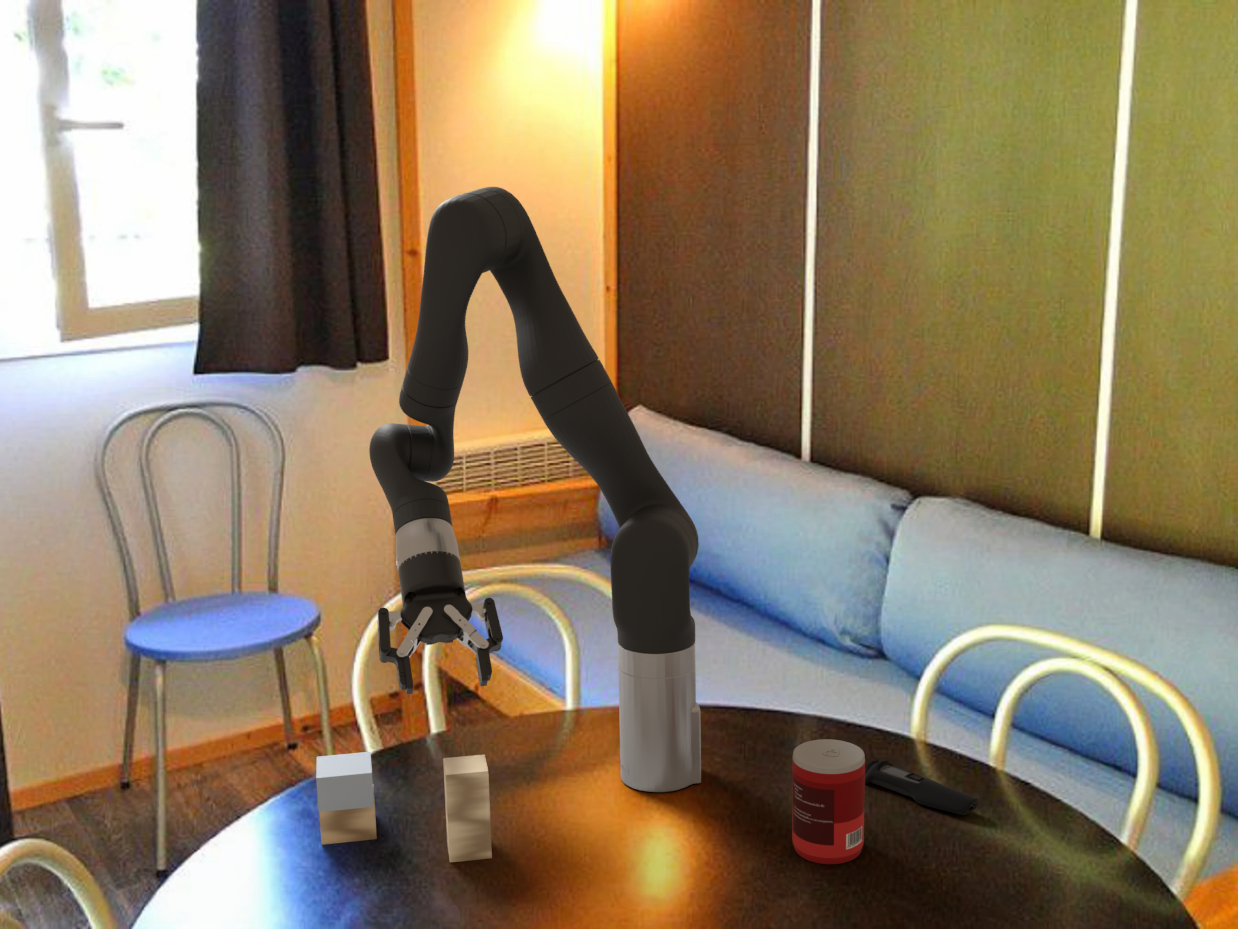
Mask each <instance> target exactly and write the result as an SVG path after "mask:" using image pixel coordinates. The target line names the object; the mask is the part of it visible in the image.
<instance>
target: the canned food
mask: <svg viewBox="0 0 1238 929" xmlns="http://www.w3.org/2000/svg"><path fill="white" fill-rule="evenodd" d="M865 767H866V759H865V752H864V750H863V749H862V748H861V747H860V746H858V745H856V744H855V743H854V744H853V743H852V742H848V741H844V740H839V739H834V738H833V739H829V738H828V739H827V738H825V739H824V738H823V739H814V740H809V741H805V742H803V743H801V744H799V745H797V746H796V747H795V748H794V749H793V752H792V768H791V770H792V774H791V777H792V779H791V780H792V783H791V784H792V785H791V788H792V790H791V793H792V794H791V795H792V796H791V797H792V798H791V800H792V803H791V804H792V807H791V809H792V812H791V813H792V814H791V815H792V820H791V822H792V823H791V824H792V826H791V827H792V829H791V830H792V831H791V832H792V834H791V835H792V838H791V839H792V845H793V848H794V850H795V852H796V854H798V856H800V857H801V858H802V859H804V860H807V861H809V862H811V863H815V864H821V865H840V864H845V863H848V862H851V861H853V860H855V859H856V858H858V857H859V856H860V854H862V850H863V846H864V844H865V843H864V842H865V798H866V797H865V796H866V794H865V793H866V791H865V789H866V788H865V787H866V784H865Z"/></svg>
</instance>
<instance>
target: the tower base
mask: <svg viewBox="0 0 1238 929" xmlns="http://www.w3.org/2000/svg"><path fill="white" fill-rule="evenodd" d="M373 799H374V807H366V808H356V809H346V810H336V811H326V812H318V813H319V825H320V826H319V829H320V839H321V840H320V842H321V845H322V846H323V845H331V844H333V845H334V844H341V843H349V842H352V843H353V842H359V841H361V842H362V841H370V840H377V839H378V838H377V820H376V817H377V816H376V802H375V784H374V783H373Z"/></svg>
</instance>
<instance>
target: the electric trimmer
mask: <svg viewBox="0 0 1238 929" xmlns="http://www.w3.org/2000/svg"><path fill="white" fill-rule="evenodd" d="M868 784H874V785H877V786H880V787H882V788H885V789H888V790H891V791H894V792H896V793H899V794H901V795H903V796H907V797H908V798H909V797H910V798H912V799H913V800H914V801H915V803H916V804H918V805H922V806H925V807H930V808H933V809H937V810H941V811H944V812H949V813H953V814H956V815H960V816H966V815H967V814H969V813H971V812H974V811H975V810H976V809H977V807H978V802H979V800H978V798H977V797H975V796H972V795H970V794H967V793H965V792H962V791H960V790H957V789H954V788H952V787H950V786H947V785H944V784H942V783H940V782H937V781H934V780H933V779H930V778H927V777H924V776H922V775H919V774H918V773H917V774H916V773H915V772H911V771H908V770H907V769H905V768H901V767H898V766H896V765H895V764H892V763H890V761H888V760H886V759H881V760H879V759H878V758H877V759H874V760H872V761H870V762H869V763H868V764H867V765H865V785H868Z"/></svg>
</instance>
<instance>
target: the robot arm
mask: <svg viewBox="0 0 1238 929" xmlns="http://www.w3.org/2000/svg"><path fill="white" fill-rule="evenodd" d="M426 237H427V238H426V246H425V254H424V255H425V256H424V265H423V266H424V267H423V274H422V275H423V276H422V285H421V294H420V302H419V303H420V304H419V313H418V320H417V326H416V333H415V337H414V342H413V345H412V348H411V349H412V350H411V353H410V357H409V361H408V364H407V367H406V370H405V375H404V378H403V382H402V385H401V387H400V388H401V389H400V392H399V398H398V404H399V407H400V410H401V411H402V412H403V413H404V414H405V415H406V416H407V417H409V418H411V419H413V421H416V422H419V423H422V424H424V425H418V424H406V423H405V424H404V423H393V422H392V423H386V424H383V425H380V427H378V428H377V429H376V430H375V431H374V433H373V434H372V437H371V439H370V443H369V448H368V449H369V451H368V452H369V460H370V461H369V462H370V463H371V467H372V471H373V473H374V475H375V477H376V479H377V482H378V483H379V485H380V487H381V489H382V492H383V493H384V495H385V498H386V500H387V503H388V504H389V507H390V510H391V513H392V519H393V520H392V522H393V528H394V534H395V559H396V564H395V565H396V570H397V573H398V580H399V587H400V588H399V589H400V594H401V602H402V608H401V609H400V610H398V611H397V610H393V611H389V609H388V608H386V607H380V608H379V609H378V610H377V611H378V612H377V620H376V621H377V636H378V639H377V640H378V654H379V655H378V656H379V661H380V662H381V663H382V664H386V663H392V664H394V665H395V666H396V672H397V673H396V674H397V680H398V686H399V689H400V690H401V691H405V694H406V695H413V693H414V692H413V691H414V680H413V676H412V675H413V674H412V665H411V659H410V658H411V656H413V654H414V653H415V652H416V650H417V649H418V647H419V645H420V644H421V643H424V644H425V645H426V646H431V645H432V646H433V645H435V644H437V643H443V644H450V643H454V641H455V640H457V641H458V642H459V643H460V644H461V645H462V646H464V647H465V648H468V649H469V650H470V651H471V652H473V653H474V654H475V655H476V656H475V664H476V670H477V676H478V682H479V687H485V686H487V685H488V682H489V681H491V679H492V673H493V667H492V662H491V656H490V654H492V652H499V651H500V650H502V643H503V641H504V636H503V631H502V627H501V624H500V619H499V615H498V612H497V607H496V602H495V600H494V598H492V597H486V598H485V599H484V601H482V602H478V603H477V602H475V603H471V602H470V601H469V599H468V597H467V595H466V594H467V593H466V589H465V583H464V576H463V571H462V570H463V569H462V564H461V562H462V561H461V557H460V551H459V550H460V549H459V546H458V545H459V544H458V541H457V538H456V535H455V533H454V528H453V521H452V515H451V507H450V502H449V499H448V495H447V493H446V492H445V491H444V489H443V488H442V487H441V486H439V485H437V484H435V483H431V482H439V481H441V480H442V479H444V478H446V476H448V474H449V473H450V472H451V470H452V468H453V465H454V462H455V440H454V429H455V428H454V426H455V417H456V416H455V415H456V408H457V403H458V401H459V397H460V394H461V391H462V387H463V384H464V380H465V376H466V373H467V370H468V369H467V368H468V365H469V364H468V363H469V346H468V345H469V344H468V337H467V331H466V328H467V327H466V317H467V310H468V306H469V302H470V300H471V297H472V296H473V292H474V290H475V289H476V288H475V287H476V286H477V284H478V281H479V280H480V278H481V277H482V275H483V274H485V273H487V272H490V273H491V274H492V276H493V277H494V280H495V281H496V282H497V284H498V286H499V287H500V289H501V292H502V293H503V295H504V297H505V299H506V301H507V304H508V306H509V308H510V310H511V314H512V317H513V322H514V326H515V327H514V328H515V334H516V347H517V356H518V358H517V359H518V365H519V369H520V371H519V372H520V376H521V378H522V382H523V384H524V385H523V386H524V388H525V389H526V392H527V393H528V395H529V397H530V399H531V401H532V403H533V404H534V407H535V408H536V410H537V412H538V413H539V415H540V417H541V419H542V420H543V422H544V424H545V426H546V428H548V430H549V431H550V433H551V435H552V436H553V438H555V440H556V441H557V443H558V444H559V445H560V446H561V447H562V448H563V449H564V450H565V451H566V452H567V453H568V454H569V455H570V456H571V458H572V459H574V460H575V462H577V463H578V464H579V466H581V468H583V469H584V470H585V471H586V473H588V475H589V476H590V477H591V478H592V480H593V481H594V482H595V483H596V486H598V488H599V489H600V490H601V493H602V494H603V496H604V497H605V501H606V502H607V503H608V506H609V508H610V510H611V512H612V515H613V517H614V519H615V521H616V522H617V525H618V528H619V529H618V531H617V532H616V534H615V535H614V537H613V541H612V544H611V550H610V584H611V585H610V588H611V604H612V617H613V622H614V625H615V626H616V631H617V657H618V658H617V659H618V660H617V664H618V666H617V667H618V669H617V671H618V710H619V711H618V714H619V715H618V716H619V717H618V718H619V756H620V757H619V766H620V779H621V782H623V784H625V785H626V786H627V787H630V788H632V789H635V790H638V791H644V792H648V793H649V792H652V793H667V792H674V791H678V790H681V789H684V788H686V787H688V786H690V785H693V784H701V783H702V756H701V755H702V754H701V753H702V750H701V748H702V746H701V745H702V742H701V738H702V735H701V734H702V733H701V723H702V722H701V706H699V704H698V703H697V694H696V693H697V689H696V686H697V685H696V681H697V680H696V677H697V676H696V674H697V673H696V672H697V671H696V623H695V622H696V621H695V619H694V618H693V616H692V614H691V613H692V612H691V600H690V599H691V598H690V596H691V595H690V594H691V593H690V568H691V566H692V565H693V564H694V562H695V560H696V558H697V555H698V552H699V547H700V546H699V545H700V544H699V534H698V530H697V528H696V525H695V523H694V521H693V519H692V518H691V516H690V514H689V513H688V512H687V510H686V509H685V507H684V506H683V505H682V503H681V501H680V500H679V498H678V497H677V496H676V494H675V493H674V491H673V490H672V489H671V487H670V486H669V484H668V483H667V481H666V480H665V479H664V477H663V476H662V474H661V473H660V471H659V470H658V468H657V467H656V465H655V463H654V462H653V460H652V458H651V456H650V455H649V453H648V451H647V449H646V447H645V446H644V443H643V441H642V438H641V437H640V434H639V433H638V431H637V428H636V427H635V424H634V422H633V420H632V418H631V417H630V415H629V413H628V411H627V409H626V408H625V405H624V403H623V402H622V400H621V398H620V396H619V394H618V391H617V390H616V388H615V385H614V384H613V382H612V380H611V378H610V376H609V374H608V372H607V371H606V368H605V366H604V365H603V364H602V362H601V360H600V359H599V356H598V355H597V353H596V351H595V349H594V348H593V346H592V344H591V343H590V341H589V339H588V337H587V336H586V334H585V332H584V330H583V329H582V327H581V325H580V323H579V320H578V319H577V317H576V315H575V312H574V311H573V309H572V307H571V306H570V304H569V302H568V300H567V297H566V296H565V295H564V293H563V290H562V288H561V287H560V285H559V283H558V280H557V278H556V277H555V274H554V272H553V269H552V267H551V265H550V262H549V260H548V257H547V255H546V253H545V251H544V247H543V246H542V244H541V241H540V239H539V236H538V234H537V232H536V230H535V226H534V225H533V223H532V221H531V218H530V216H529V214H528V213H527V211H526V209H525V207H524V206H523V205H522V203H521V202H520V200H519V199H518V198H517V197H516V196H515V195H514V194H513V193H511V192H510V191H508V190H506V189H504V188H503V187H498V186H486V187H481V188H477V189H474V190H471V191H468V192H464V193H462V194H458V195H454V196H452V197H450V198H448V199H446V200H445V201H443V202H442V203H440V204H439V205H438V206H437V207H436V208H435V210H434V212H433V213H432V216H431V219H430V222H429V226H428V231H427V236H426ZM473 615H475V616H476V617H477V618H478V620H479V621H480V622H484V626H485V630H486V633H487V636H488V638H485V637H484V636H482V634H480V632H478V631H477V629H476V627H475V625H473V624H472V623H471V622H470V619H471V617H472V616H473ZM400 622H401V624H402V625H403V627H405V628H406V629H407V630H408V632H407V633H406V635H405V638H404V639H403V641H402V642H401V644H400V645H399V647H398V648H397V647H392V646H391V645H392V644H391V631H394V630H395V628H396V625H397V623H400Z"/></svg>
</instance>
